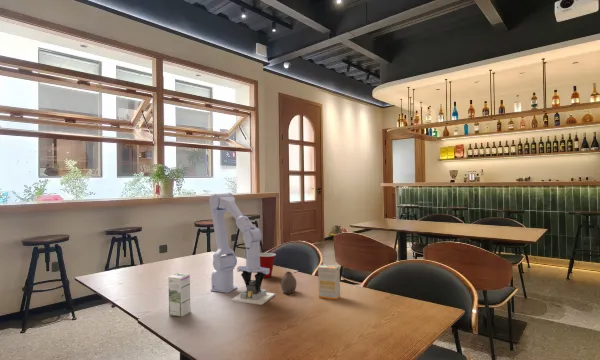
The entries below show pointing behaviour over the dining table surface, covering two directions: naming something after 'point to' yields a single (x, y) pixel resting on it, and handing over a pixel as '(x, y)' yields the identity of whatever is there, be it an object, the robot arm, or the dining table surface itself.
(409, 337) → the dining table surface
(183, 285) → the syrup box
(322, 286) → the supplement box
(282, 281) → the vase
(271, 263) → the plastic cup
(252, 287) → the knob
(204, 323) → the dining table surface
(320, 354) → the dining table surface
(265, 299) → the hub panel
